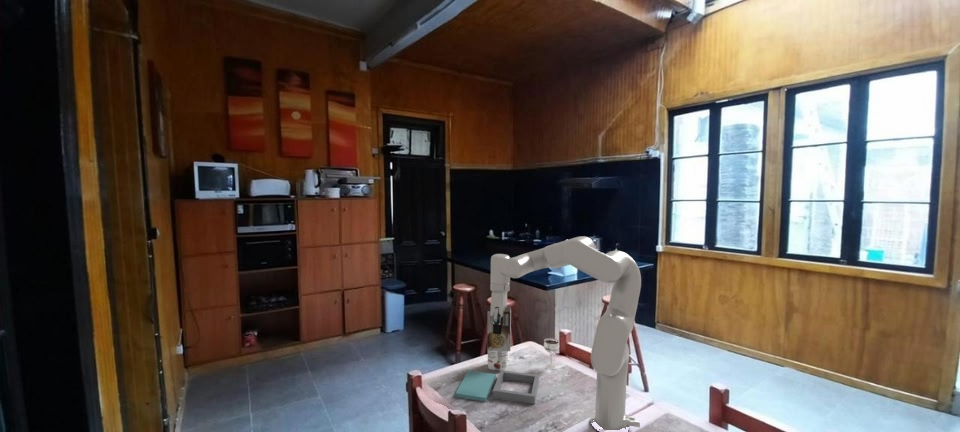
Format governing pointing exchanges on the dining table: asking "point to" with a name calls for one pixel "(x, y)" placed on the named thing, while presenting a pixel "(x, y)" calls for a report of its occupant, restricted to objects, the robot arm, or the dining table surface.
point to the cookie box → (503, 340)
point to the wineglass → (551, 349)
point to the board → (476, 386)
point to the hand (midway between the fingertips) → (499, 329)
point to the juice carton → (497, 360)
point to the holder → (512, 394)
